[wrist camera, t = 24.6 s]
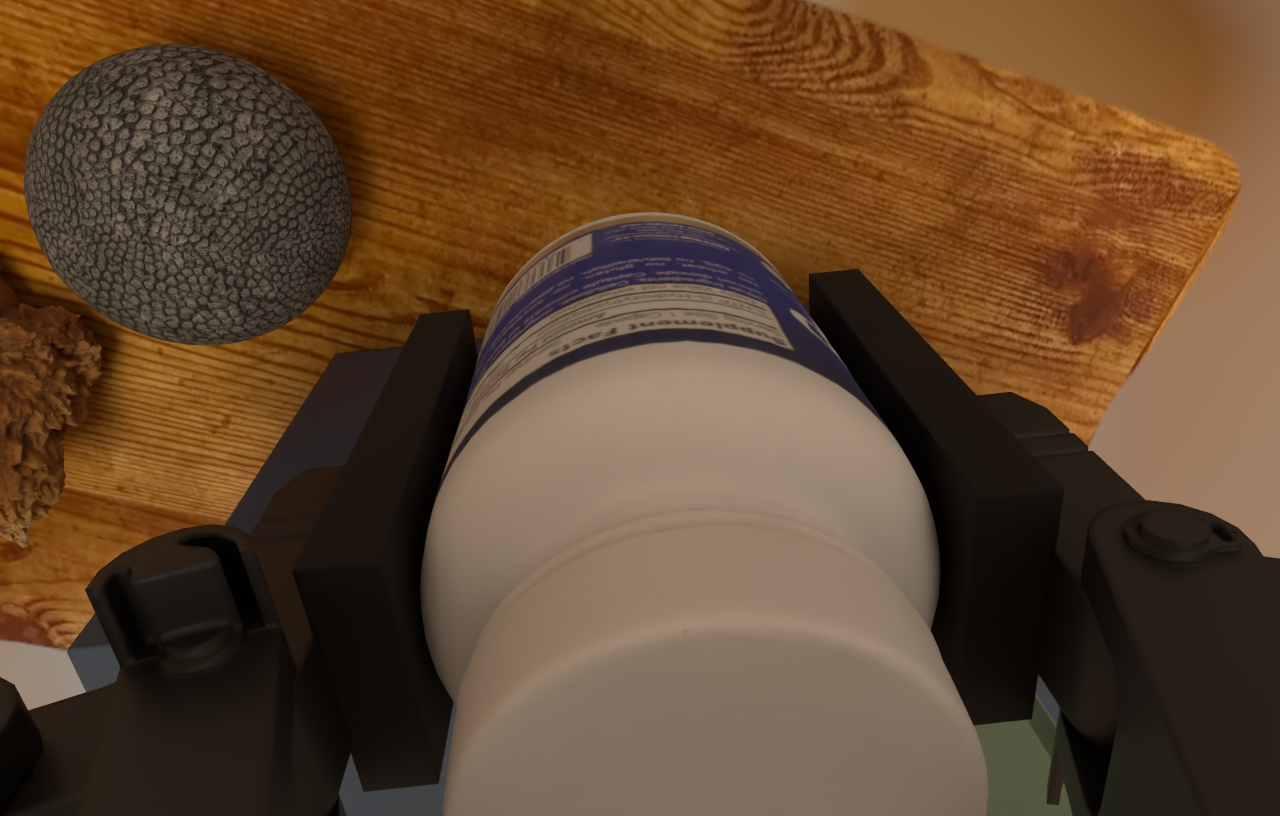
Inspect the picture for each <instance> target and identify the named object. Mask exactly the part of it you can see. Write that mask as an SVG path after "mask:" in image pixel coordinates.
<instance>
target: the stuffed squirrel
mask: <svg viewBox="0 0 1280 816" xmlns="http://www.w3.org/2000/svg"><path fill="white" fill-rule="evenodd" d="M80 316H82V315H80V314H77V315H76V314H74V313H72V312H70V311H67V310H65V308H63V307H62V306H59V307H54V306H52V305H51V306H47V307H46V308H39V309H37V308H34V307H32V306H31V305H29V304H25V305H24V303H21V301H20V299H19V297H18V296H17V294H16V293H15V292H14V290H13V289H11V288H10V287H9V286H8V285H7V284H6V283H5V282H4V281H3V280H2V279H1V278H0V537H4V538H7V539H8V540H10V541H16V542H17V543H18V544H19V546H20V547H21V548H23V547H27V546H28V543H29V542H28V538H29V532H30V529H31V522H32V521H31V519H33V520H37V521H39V522H40V518H41V516H44V517H48V518H50V516H49V515H48V511H47V510H50V505H53V504H56V502H57V501H59V500H60V499H59V495H60V494H61V493H62V488H63V487H64V486H65V483H64V479H65V477H66V475H65V473H64V457H63V456H64V451H63V445H62V444H61V443H60V442H61V441H62V440H63V439H64V436H65V435H66V433H67V432H68V431H75V430H76V429H77V428H78V426H79V425H80V423H84V422H85V419H84V418H85V417H86V416H87V415H88V413H89V412H90V411H89V406H88V405H89V400H90V399H91V393H90V388H89V386H92V385H93V382H95V381H97V380H98V379H100V376H101V375H102V374H103V373H101V371H102V370H101V369H100V367H101V365H102V364H101V363H100V362H101V361H102V357H101V356H100V355H101V352H100V350H101V349H102V347H101V345H98V344H97V342H96V341H95V338H94V337H93V335H94V334H93V332H92V331H91V330H89V329H87V328H86V326H85V325H84V324H83V323H82V321H81V320H80V319H79V317H80Z"/></svg>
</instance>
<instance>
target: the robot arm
mask: <svg viewBox="0 0 1280 816" xmlns="http://www.w3.org/2000/svg"><path fill="white" fill-rule="evenodd" d="M809 315H810V316H811V318H812V319H813V321H814V322H815V323H816V325H817V326H818V327H819V329H820V330H821V331H822V333H823V334H824V335H825V337H826V338H827V340H828V341H829V343H830V345H831V346H832V348H833V349H834V350H835V351H836V353H837V354H838V356H839V357H840V359H841V360H842V362H843V363H844V364H845V366H846V367H847V368H848V370H849V372H850V374H851V375H852V377H853V378H854V380H855V381H856V383H857V384H858V386H859V387H860V389H861V390H862V392H863V393H864V394H865V396H866V397H867V399H868V400H869V402H870V403H871V404H872V406H873V407H874V408H875V410H876V411H877V413H878V414H879V415H880V417H881V418H882V419H883V421H884V422H885V424H886V425H887V427H888V428H889V430H890V431H891V433H892V434H893V436H894V437H895V439H896V440H897V442H898V444H899V445H900V447H901V449H902V450H903V452H904V454H905V455H906V457H907V459H908V460H909V462H910V464H911V466H912V468H913V469H914V471H915V473H916V475H917V477H918V479H919V481H920V482H921V485H922V487H923V489H924V491H925V494H926V496H927V499H928V502H929V505H930V508H931V512H932V515H933V518H934V523H935V527H936V531H937V537H938V544H939V551H940V587H939V598H938V603H937V608H936V612H935V616H934V620H933V624H932V627H931V630H930V631H931V633H932V635H933V637H934V639H935V641H936V644H937V646H938V649H939V651H940V654H941V657H942V660H943V662H944V664H945V666H946V668H947V670H948V672H949V674H950V676H951V678H952V680H953V682H954V685H955V687H956V689H957V691H958V693H959V695H960V698H961V700H962V702H963V704H964V706H965V708H966V710H967V712H968V715H969V717H970V719H971V721H972V723H973V725H984V724H993V723H1002V722H1011V721H1020V720H1030V719H1032V715H1033V708H1034V701H1035V694H1036V687H1037V680H1038V674H1039V676H1040V677H1041V679H1042V681H1043V682H1044V684H1045V685H1046V687H1047V688H1048V690H1049V691H1050V693H1051V694H1052V696H1053V697H1054V699H1055V700H1056V702H1057V704H1058V705H1059V707H1060V708H1059V714H1058V720H1057V727H1056V733H1055V739H1054V745H1053V752H1052V758H1051V764H1050V771H1049V777H1048V783H1047V804H1049V805H1058V806H1059V801H1060V795H1061V789H1062V785H1063V784H1065V788H1066V792H1067V796H1068V800H1069V803H1070V807H1071V811H1072V815H1073V816H1280V559H1279V558H1271V557H1264V556H1263V555H1262V554H1261V552H1260V551H1259V549H1258V548H1257V546H1256V545H1255V544H1254V543H1253V542H1252V541H1251V540H1250V539H1249V538H1248V537H1247V536H1246V535H1245V534H1244V533H1243V532H1242V531H1241V530H1240V529H1238V527H1236V526H1234V525H1232V524H1230V523H1228V522H1226V521H1224V520H1222V519H1221V518H1219V517H1217V516H1215V515H1213V514H1211V513H1208V512H1204V511H1201V510H1198V509H1194V508H1191V507H1188V506H1184V505H1181V504H1174V503H1166V502H1158V501H1150V500H1147V501H1146V500H1145V499H1144V498H1143V497H1142V496H1141V495H1140V494H1139V493H1137V492H1136V491H1135V490H1134V489H1133V488H1132V487H1131V486H1130V485H1129V484H1128V483H1127V482H1126V481H1125V480H1123V479H1122V478H1121V477H1120V476H1119V475H1118V474H1117V473H1116V472H1115V471H1114V470H1113V469H1112V468H1110V467H1109V466H1108V465H1107V464H1106V463H1105V462H1104V461H1103V460H1102V459H1101V458H1100V457H1099V456H1098V455H1096V454H1095V453H1094V452H1093V451H1088V446H1087V445H1086V444H1085V443H1084V442H1083V441H1082V440H1080V439H1079V438H1078V437H1077V436H1076V435H1075V434H1074V433H1069V428H1068V427H1066V426H1065V425H1064V424H1063V423H1062V422H1061V421H1060V420H1059V419H1058V418H1057V417H1056V416H1055V415H1054V414H1052V413H1051V412H1050V411H1049V410H1048V409H1047V408H1045V407H1043V406H1041V405H1039V404H1037V403H1034V402H1032V401H1030V400H1028V399H1026V398H1023V397H1021V396H1019V395H1017V394H1015V393H1012V392H1006V393H997V394H987V395H978V396H977V395H976V394H975V393H974V392H973V391H972V390H971V389H970V388H969V387H968V386H967V385H966V384H965V382H964V381H963V380H962V379H961V378H960V377H959V376H958V375H957V374H956V373H955V372H954V371H953V370H952V369H951V368H950V367H949V365H948V364H947V363H946V362H945V361H944V360H943V359H942V358H941V357H940V356H939V355H938V354H937V353H936V352H935V351H934V349H933V348H932V347H931V346H930V345H929V344H928V343H927V342H926V341H925V340H924V339H923V338H922V337H921V336H920V335H919V334H918V332H917V331H916V330H915V329H914V328H913V327H912V326H911V325H910V324H909V323H908V322H907V321H906V320H905V319H904V318H903V316H902V315H901V314H900V313H899V312H898V311H897V310H896V309H895V308H894V307H893V306H892V305H891V304H890V303H889V302H888V301H887V299H886V298H885V297H884V296H883V295H882V294H881V293H880V292H879V291H878V290H877V289H876V288H875V287H874V286H873V285H872V283H871V282H870V281H869V280H868V279H867V278H866V277H865V276H864V275H863V274H862V273H861V272H860V271H859V270H858V269H853V270H843V271H833V272H824V273H814V274H809ZM477 360H478V354H477V348H476V343H475V338H474V332H473V327H472V321H471V316H470V311H469V309H468V310H458V311H449V312H439V313H429V314H420V316H419V318H418V320H417V322H416V324H415V326H414V328H413V330H412V332H411V334H410V336H409V338H408V340H407V342H406V344H405V346H404V348H403V350H402V352H401V354H400V356H399V358H398V360H397V362H396V364H395V366H394V368H393V370H392V372H391V374H390V376H389V378H388V380H387V382H386V384H385V386H384V388H383V390H382V392H381V394H380V396H379V398H378V400H377V402H376V404H375V406H374V408H373V410H372V412H371V414H370V416H369V418H368V420H367V422H366V424H365V426H364V428H363V430H362V432H361V434H360V436H359V438H358V440H357V442H356V444H355V446H354V448H353V450H352V452H351V454H350V456H349V458H348V460H347V462H346V464H345V465H342V466H333V467H323V468H314V469H305V470H304V471H303V472H301V473H300V474H299V475H297V476H296V477H295V478H294V479H292V480H291V481H290V482H289V483H287V484H286V485H285V486H283V487H282V488H281V489H280V490H278V491H277V492H276V493H275V495H274V496H273V498H272V499H271V501H270V503H269V504H268V506H267V508H266V509H265V511H264V513H263V514H262V516H261V522H260V523H257V524H256V526H255V527H254V529H253V531H252V532H251V534H248V533H246V532H244V531H242V530H241V529H239V528H237V527H234V526H223V525H205V526H198V527H191V528H183V529H180V530H177V531H173V532H170V533H167V534H164V535H161V536H158V537H155V538H152V539H149V540H147V541H145V542H143V543H142V544H140V545H138V546H136V547H134V548H132V549H130V550H128V551H126V552H124V553H122V554H120V555H119V556H118V557H117V558H115V559H114V560H113V561H111V562H110V563H109V564H107V565H106V566H105V567H103V568H102V569H101V570H100V571H98V573H97V574H96V575H95V577H94V578H93V580H92V581H91V582H90V584H89V585H88V587H87V588H86V589H85V591H86V593H87V595H88V597H89V600H90V602H91V604H92V606H93V608H94V610H95V613H96V615H97V617H98V619H99V621H100V624H101V626H102V628H103V630H104V632H105V635H106V637H107V639H108V641H109V643H110V646H111V648H112V650H113V652H114V654H115V657H116V659H117V661H118V663H119V665H120V670H119V673H118V676H117V680H116V682H115V683H112V684H109V685H107V686H104V687H101V688H99V689H96V690H92V691H89V692H86V693H83V694H80V695H76V696H73V697H70V698H67V699H64V700H61V701H57V702H54V703H51V704H48V705H45V706H41V707H38V708H35V709H32V710H29V711H28V709H27V708H26V706H25V704H24V702H23V700H22V698H21V696H20V694H19V692H18V691H17V689H16V687H15V685H14V684H12V683H10V682H8V681H6V680H5V679H3V678H1V677H0V816H346V813H345V810H344V807H343V804H342V801H341V798H340V795H339V790H340V787H341V784H342V780H343V777H344V774H345V770H346V767H347V764H348V761H349V757H350V754H351V755H352V758H353V761H354V764H355V767H356V770H357V773H358V777H359V780H360V783H361V786H362V789H363V792H369V791H378V790H387V789H396V788H405V787H414V786H424V785H433V784H439V779H440V774H441V769H442V763H443V758H444V752H445V747H446V741H447V736H448V731H449V725H450V720H451V714H452V709H453V703H454V701H453V700H452V698H451V697H450V695H449V693H448V692H447V690H446V688H445V686H444V685H443V683H442V681H441V679H440V678H439V676H438V674H437V671H436V669H435V666H434V663H433V661H432V658H431V655H430V652H429V649H428V645H427V642H426V638H425V632H424V626H423V620H422V614H421V594H420V581H421V568H422V560H423V554H424V548H425V541H426V535H427V530H428V526H429V522H430V518H431V514H432V509H433V505H434V501H435V496H436V494H437V492H438V488H439V484H440V482H441V479H442V476H443V473H444V470H445V467H446V464H447V461H448V457H449V454H450V451H451V448H452V444H453V441H454V438H455V436H456V433H457V429H458V426H459V423H460V420H461V416H462V413H463V410H464V406H465V403H466V400H467V396H468V392H469V389H470V385H471V382H472V378H473V375H474V371H475V367H476V364H477Z"/></svg>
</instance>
